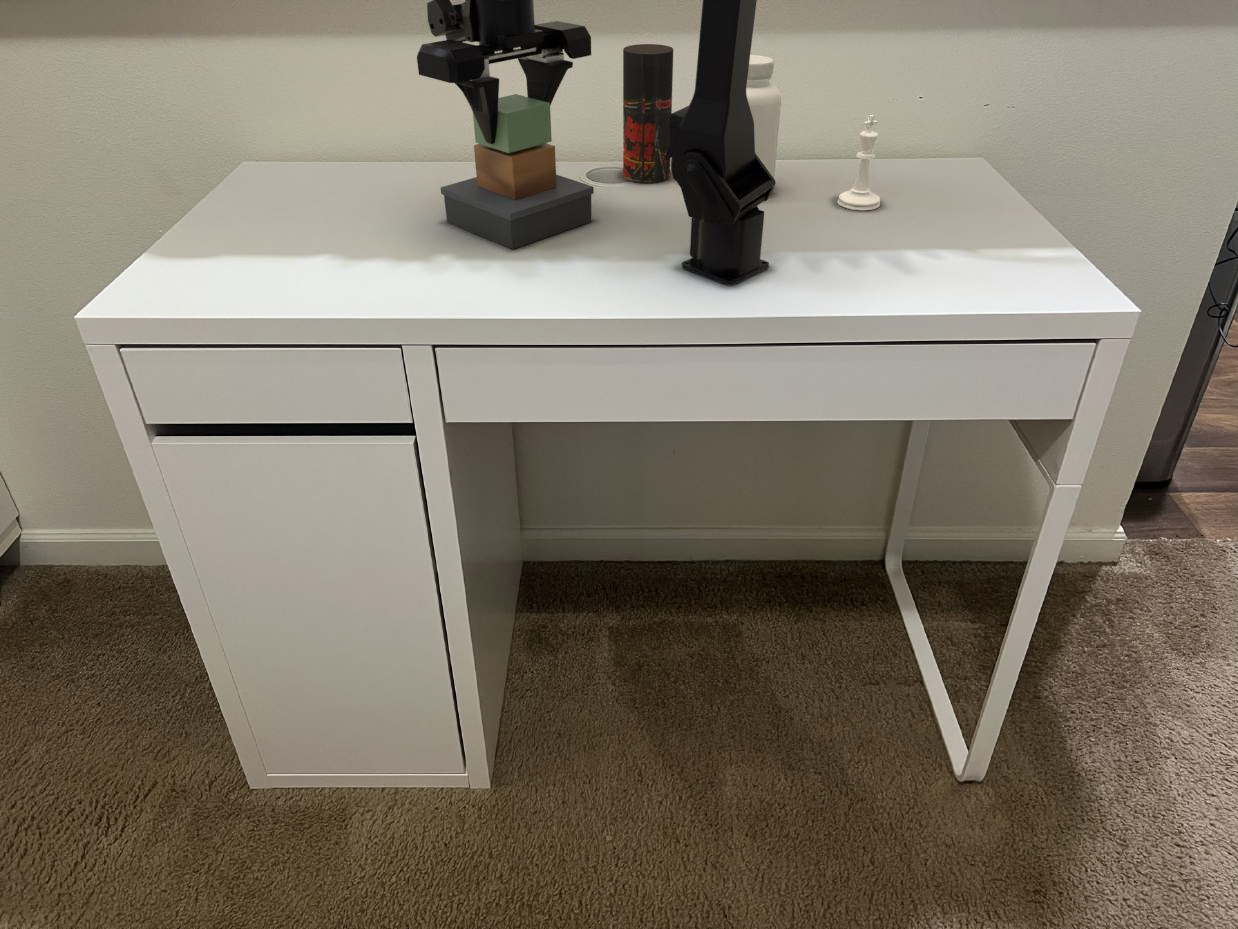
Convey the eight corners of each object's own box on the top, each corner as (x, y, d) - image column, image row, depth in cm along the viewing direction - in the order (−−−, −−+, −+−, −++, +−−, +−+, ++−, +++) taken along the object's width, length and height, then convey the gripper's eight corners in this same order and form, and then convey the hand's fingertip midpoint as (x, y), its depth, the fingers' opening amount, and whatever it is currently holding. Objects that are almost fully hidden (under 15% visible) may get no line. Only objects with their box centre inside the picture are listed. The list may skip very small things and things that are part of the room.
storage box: (594, 221, 104) (593, 186, 101) (512, 250, 97) (509, 213, 94) (525, 196, 111) (523, 163, 108) (444, 222, 104) (440, 187, 101)
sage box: (551, 141, 99) (550, 102, 97) (508, 153, 95) (505, 113, 93) (518, 131, 102) (515, 93, 100) (475, 142, 99) (471, 103, 96)
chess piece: (888, 207, 107) (903, 118, 102) (852, 213, 106) (865, 123, 100) (864, 194, 111) (877, 108, 105) (829, 199, 110) (840, 112, 104)
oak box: (557, 187, 101) (555, 145, 99) (515, 200, 98) (512, 157, 95) (518, 174, 105) (516, 133, 102) (477, 186, 102) (473, 145, 99)
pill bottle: (771, 180, 115) (783, 52, 107) (774, 202, 109) (787, 67, 100) (708, 178, 116) (715, 50, 107) (707, 200, 110) (714, 65, 101)
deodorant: (617, 171, 119) (616, 45, 110) (660, 166, 120) (663, 42, 112) (631, 185, 114) (632, 55, 105) (676, 180, 116) (680, 52, 107)
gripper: (522, -43, 100) (530, 107, 108) (374, -26, 89) (397, 140, 98) (593, -34, 93) (596, 125, 102) (443, -14, 82) (461, 162, 91)
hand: (513, 137), depth 98 cm, fingers closed on sage box, 6 cm apart
